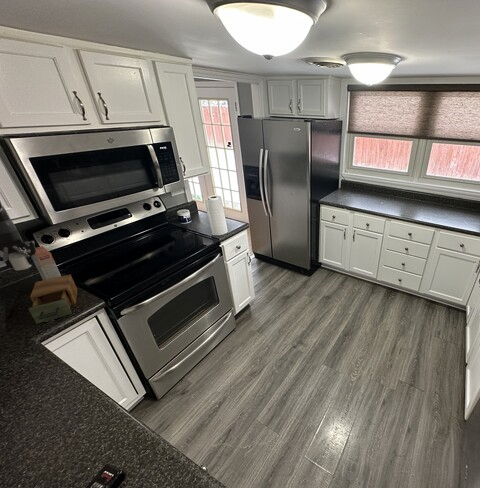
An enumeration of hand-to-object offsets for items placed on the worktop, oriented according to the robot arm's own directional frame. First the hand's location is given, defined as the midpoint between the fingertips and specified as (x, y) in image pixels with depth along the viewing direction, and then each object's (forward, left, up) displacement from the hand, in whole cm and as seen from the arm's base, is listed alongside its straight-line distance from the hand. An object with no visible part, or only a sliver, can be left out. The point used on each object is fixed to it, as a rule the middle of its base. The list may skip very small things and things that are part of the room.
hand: (22, 265), depth 116 cm
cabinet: (+5, +1, -23) cm, 23 cm away
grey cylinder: (0, 0, -1) cm, 1 cm away
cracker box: (+2, +19, -23) cm, 30 cm away
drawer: (+5, -12, -22) cm, 25 cm away
